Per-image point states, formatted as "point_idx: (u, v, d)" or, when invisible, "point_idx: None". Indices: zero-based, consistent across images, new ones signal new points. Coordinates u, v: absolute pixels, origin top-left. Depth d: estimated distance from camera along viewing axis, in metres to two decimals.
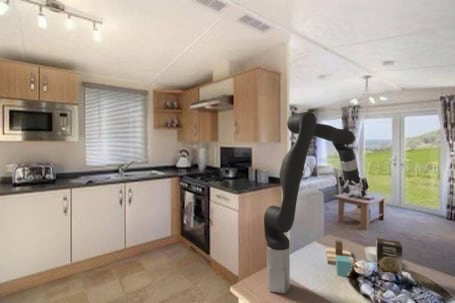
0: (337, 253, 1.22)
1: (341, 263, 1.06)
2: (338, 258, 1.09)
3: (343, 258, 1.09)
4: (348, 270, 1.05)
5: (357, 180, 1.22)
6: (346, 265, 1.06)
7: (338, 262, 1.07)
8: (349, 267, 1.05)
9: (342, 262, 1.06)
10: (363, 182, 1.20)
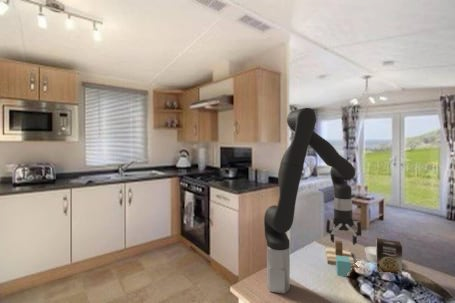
0: (337, 253, 1.22)
1: (341, 263, 1.06)
2: (338, 258, 1.09)
3: (343, 258, 1.09)
4: (348, 270, 1.05)
5: (352, 223, 1.06)
6: (346, 265, 1.06)
7: (338, 262, 1.07)
8: (349, 267, 1.05)
9: (342, 262, 1.06)
10: (359, 225, 1.05)
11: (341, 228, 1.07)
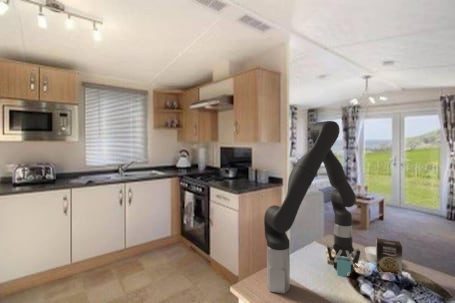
0: None
1: (341, 263, 1.06)
2: None
3: (343, 258, 1.09)
4: (348, 270, 1.05)
5: (352, 251, 1.06)
6: (346, 265, 1.06)
7: (338, 262, 1.07)
8: (349, 267, 1.05)
9: (342, 262, 1.06)
10: (358, 254, 1.05)
11: (342, 254, 1.07)
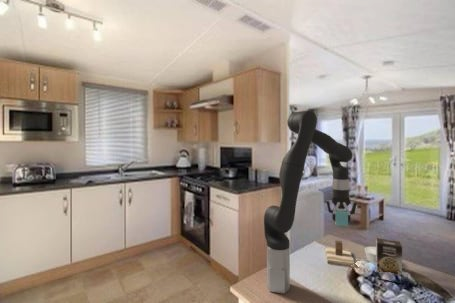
0: (337, 253, 1.22)
1: (339, 214, 1.16)
2: None
3: (341, 210, 1.19)
4: (345, 220, 1.16)
5: (349, 203, 1.16)
6: (343, 215, 1.16)
7: (336, 213, 1.17)
8: (346, 217, 1.15)
9: (340, 213, 1.16)
10: (355, 205, 1.15)
11: (340, 206, 1.18)
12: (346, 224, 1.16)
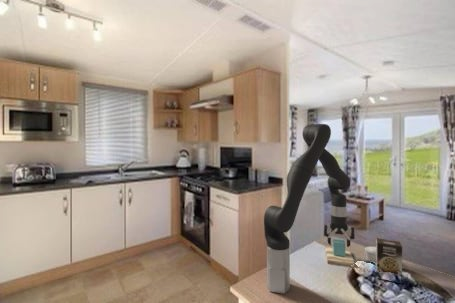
0: None
1: (337, 244, 1.20)
2: (334, 240, 1.23)
3: (339, 240, 1.23)
4: (343, 250, 1.20)
5: (346, 228, 1.20)
6: (341, 245, 1.20)
7: (334, 243, 1.21)
8: (344, 247, 1.19)
9: (338, 243, 1.20)
10: (353, 230, 1.19)
11: (337, 232, 1.22)
12: (343, 254, 1.20)
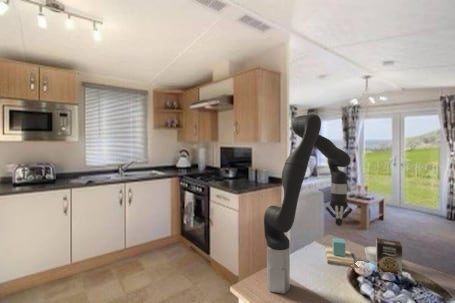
0: None
1: (337, 244, 1.20)
2: (334, 240, 1.23)
3: (339, 240, 1.23)
4: (343, 250, 1.20)
5: None
6: (341, 245, 1.20)
7: (334, 243, 1.21)
8: (344, 247, 1.19)
9: (338, 243, 1.20)
10: (350, 211, 1.19)
11: (339, 208, 1.21)
12: (343, 254, 1.20)
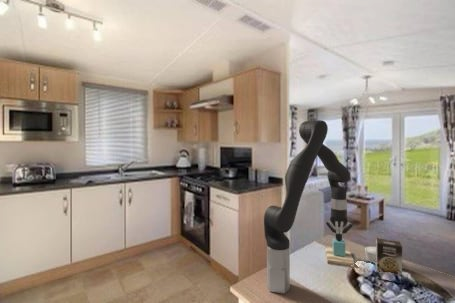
0: None
1: (337, 244, 1.20)
2: (334, 240, 1.23)
3: None
4: (343, 250, 1.20)
5: None
6: (341, 245, 1.20)
7: (334, 243, 1.21)
8: (344, 247, 1.19)
9: (338, 243, 1.20)
10: (350, 227, 1.20)
11: (339, 224, 1.21)
12: (343, 254, 1.20)
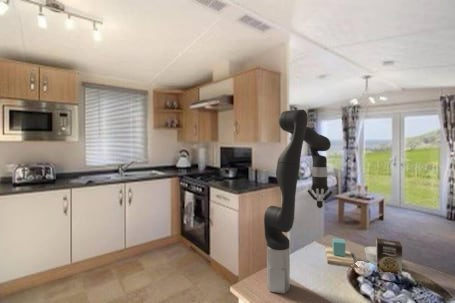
0: None
1: (337, 244, 1.20)
2: (334, 240, 1.23)
3: (339, 240, 1.23)
4: (343, 250, 1.20)
5: None
6: (341, 245, 1.20)
7: (334, 243, 1.21)
8: (344, 247, 1.19)
9: (338, 243, 1.20)
10: (330, 194, 1.24)
11: (320, 191, 1.25)
12: (343, 254, 1.20)
